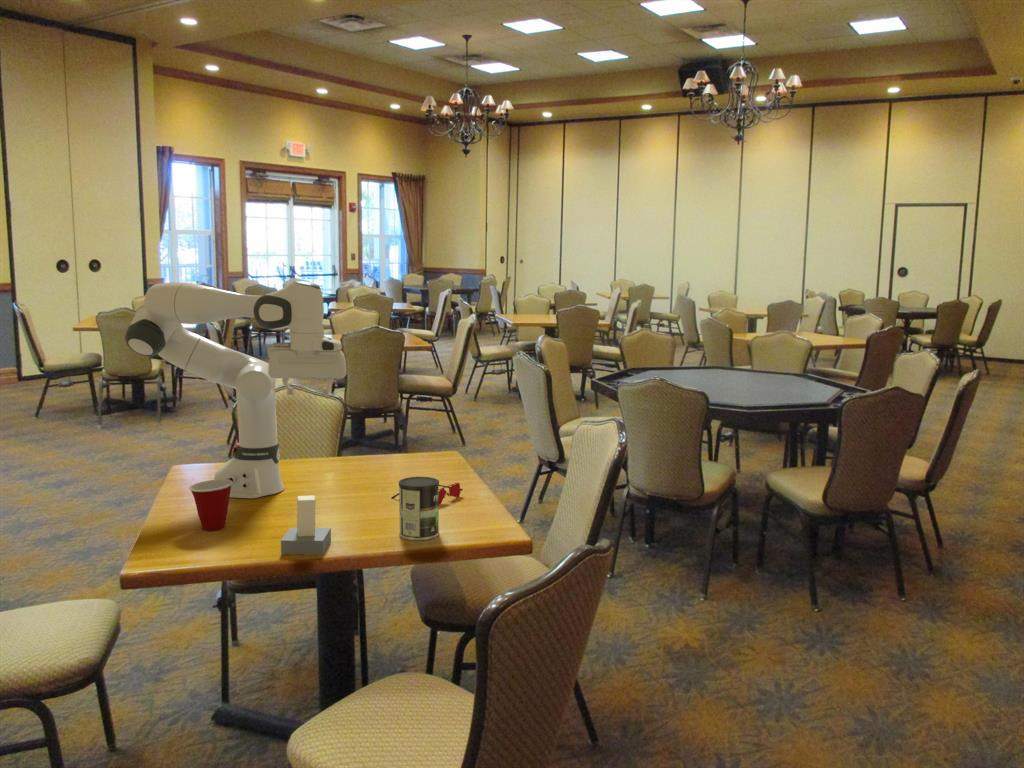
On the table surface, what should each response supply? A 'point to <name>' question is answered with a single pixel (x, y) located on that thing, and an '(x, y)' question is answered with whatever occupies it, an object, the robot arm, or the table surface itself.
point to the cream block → (306, 515)
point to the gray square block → (306, 542)
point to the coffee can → (419, 508)
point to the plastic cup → (212, 502)
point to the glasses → (453, 491)
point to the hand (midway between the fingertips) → (308, 394)
